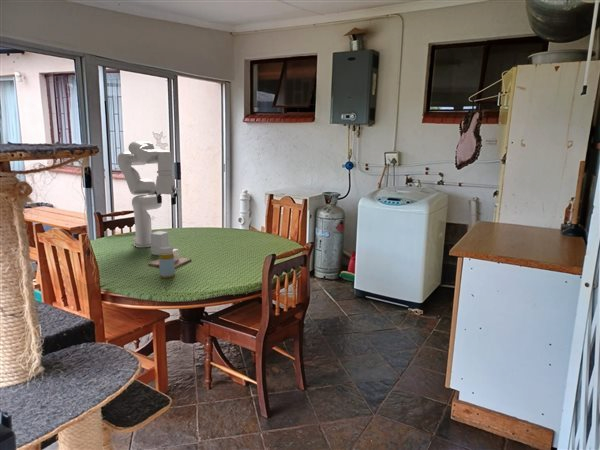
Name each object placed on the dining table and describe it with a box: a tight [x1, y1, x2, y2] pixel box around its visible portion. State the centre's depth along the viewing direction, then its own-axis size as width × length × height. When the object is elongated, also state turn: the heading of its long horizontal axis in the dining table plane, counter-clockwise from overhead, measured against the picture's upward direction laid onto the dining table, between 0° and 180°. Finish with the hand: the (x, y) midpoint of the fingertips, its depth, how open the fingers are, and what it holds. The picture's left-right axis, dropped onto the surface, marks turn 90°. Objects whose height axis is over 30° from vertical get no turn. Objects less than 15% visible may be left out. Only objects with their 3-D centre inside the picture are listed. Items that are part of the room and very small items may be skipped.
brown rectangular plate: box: [148, 256, 192, 269], centre depth 227 cm, size 16×16×5 cm
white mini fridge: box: [173, 247, 180, 262], centre depth 227 cm, size 6×7×6 cm
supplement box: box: [150, 230, 170, 256], centre depth 244 cm, size 7×7×13 cm
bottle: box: [158, 245, 176, 279], centre depth 206 cm, size 7×7×15 cm
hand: (166, 203), depth 236 cm, fingers open, 9 cm apart
